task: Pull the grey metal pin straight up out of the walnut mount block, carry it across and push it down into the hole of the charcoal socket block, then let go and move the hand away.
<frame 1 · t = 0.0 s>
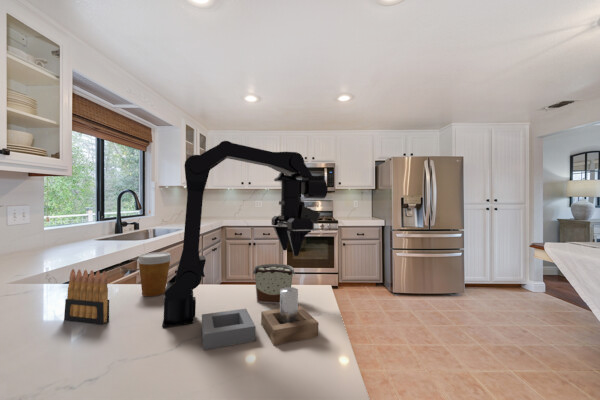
hand: (290, 252, 74), 15 cm above the counter, tool pointing down, fingers open, 9 cm apart
disposable coffee cup: (153, 293, 82), on the counter
mount block: (288, 330, 59), on the counter
ammunition clip: (86, 322, 62), on the counter
socket block: (227, 333, 57), on the counter
food container: (275, 300, 79), on the counter
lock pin: (288, 310, 59), in the mount block
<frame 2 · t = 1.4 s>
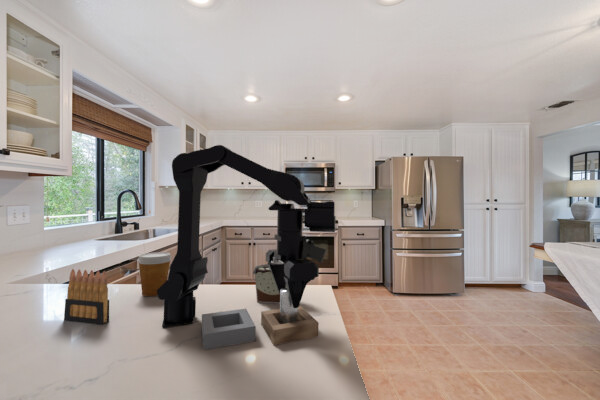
hand: (288, 300, 59), 7 cm above the counter, tool pointing down, fingers open, 9 cm apart
nothing on the counter moved.
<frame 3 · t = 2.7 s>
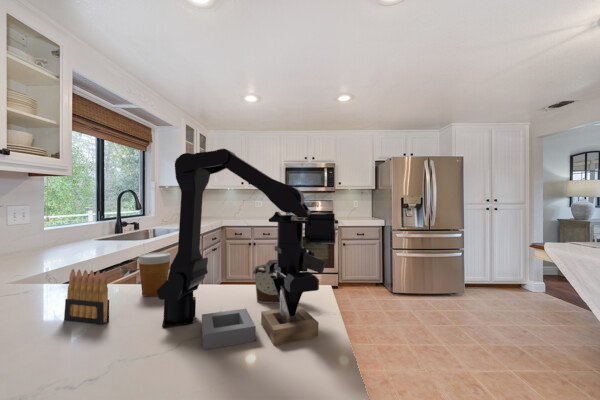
hand: (288, 312, 59), 4 cm above the counter, tool pointing down, fingers closed on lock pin, 4 cm apart
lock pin: (288, 310, 59), in the mount block, touching gripper
everything else where it was.
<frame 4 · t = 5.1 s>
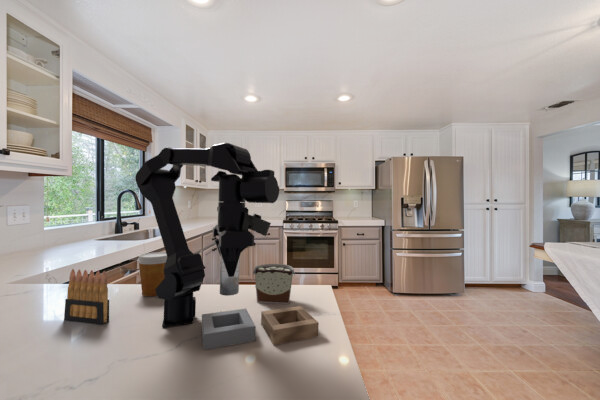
hand: (229, 273, 57), 13 cm above the counter, tool pointing down, fingers closed on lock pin, 4 cm apart
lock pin: (229, 271, 57), point 13 cm above the counter, touching gripper
everything else where it was.
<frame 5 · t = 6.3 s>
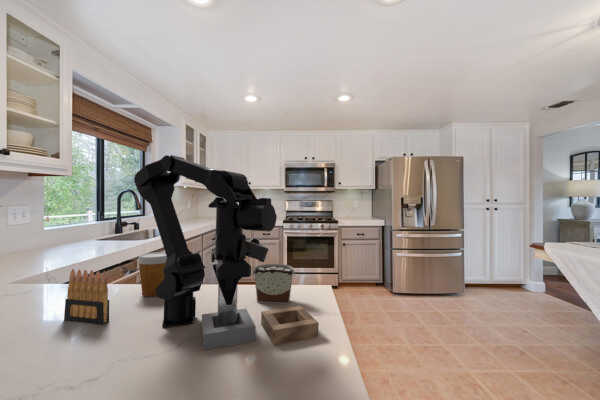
hand: (227, 301, 57), 7 cm above the counter, tool pointing down, fingers closed on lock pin, 4 cm apart
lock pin: (227, 298, 57), point 8 cm above the counter, touching gripper
everything else where it was.
when the fingers open (5 cm above the counter, at t = 7.4 s): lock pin moves 1 cm, resting in socket block.
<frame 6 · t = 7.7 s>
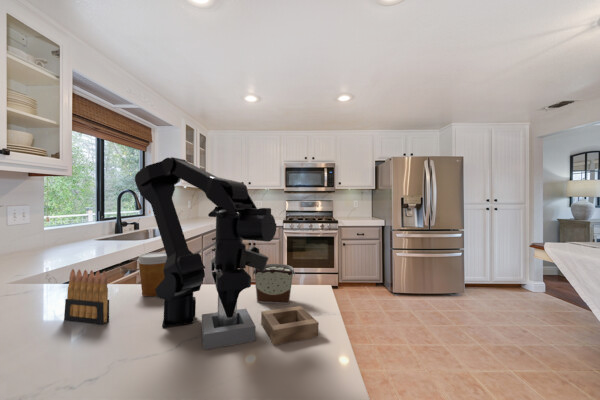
hand: (227, 310, 57), 5 cm above the counter, tool pointing down, fingers open, 7 cm apart
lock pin: (227, 312, 57), in the socket block
everything else where it was.
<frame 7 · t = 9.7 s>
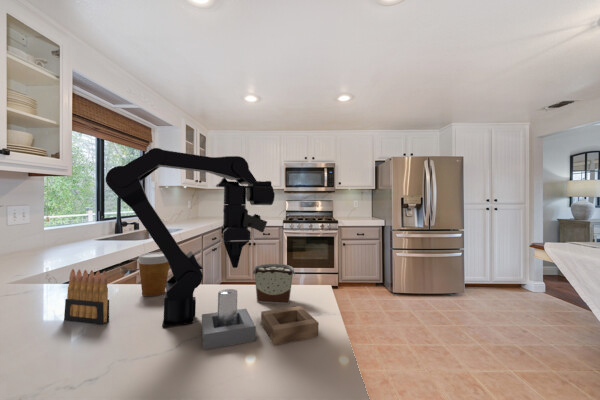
hand: (233, 263, 70), 12 cm above the counter, tool pointing down, fingers open, 9 cm apart
nothing on the counter moved.
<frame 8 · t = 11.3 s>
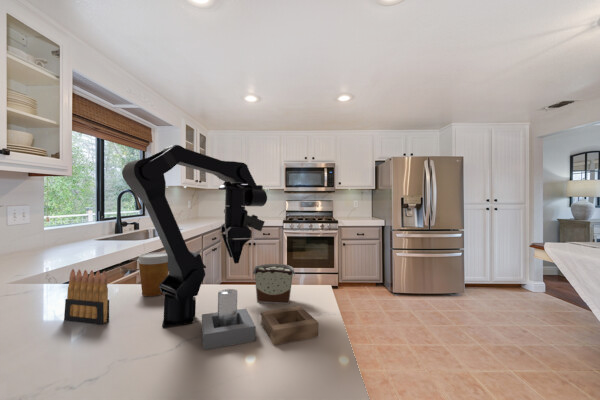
hand: (233, 260, 76), 12 cm above the counter, tool pointing down, fingers open, 9 cm apart
nothing on the counter moved.
at the end: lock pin 0.1 cm off-centre on the socket block, point 4.5 cm above the socket block's base; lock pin tilted 0°; the gripper is holding nothing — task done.
